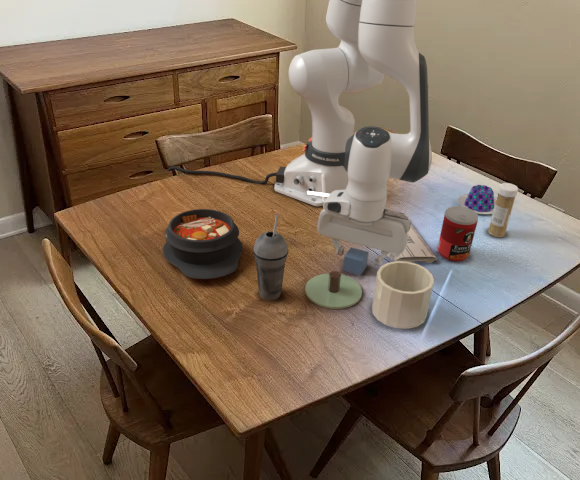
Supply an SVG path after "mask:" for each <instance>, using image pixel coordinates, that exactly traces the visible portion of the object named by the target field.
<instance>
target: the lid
mask: <svg viewBox="0 0 580 480" xmlns="http://www.w3.org/2000/svg"><path fill="white" fill-rule="evenodd" d="M304 292H305V295H306V297H307V299H308V300H309V301H310V302H312V303H313V304H315V305H317V306H319V307H321V308H325V309H331V310H342V309H348V308H350V307H353V306H355V305H357V303H359V301H360V300H361V299H362V296H363V289H362V287H361V285H360V284H359V282H358V281H356V279H354V278H352V277H350V276H348V275H344V274H342V273H341V272H339V271H337V270H332V271H330V272H329V273H328V272H327V273H320V274H318V275H315V276H313V277H311V278H310V279H308V281H307V282H306V283H305V287H304Z"/></svg>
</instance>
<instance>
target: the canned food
mask: <svg viewBox="0 0 580 480" xmlns="http://www.w3.org/2000/svg"><path fill="white" fill-rule="evenodd" d="M478 221H479V215H478V213H476V212H475V211H473V210H471V209H469V208H466V207H462V206H460V205H453V206H449V207H448V208H446V209H445V212H444V215H443V220H442V225H441V230H440V233H439V234H440V235H439V240H438V244H437V253H438V255H439V256H440V257H442V258H443V259H445V260H447V261H449V262H454V263H455V262H464V261H466V260H467V259H468V258H469V255H470V253H471V249H472V245H473V242H474V237H475V233H476V229H477V226H478Z"/></svg>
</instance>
